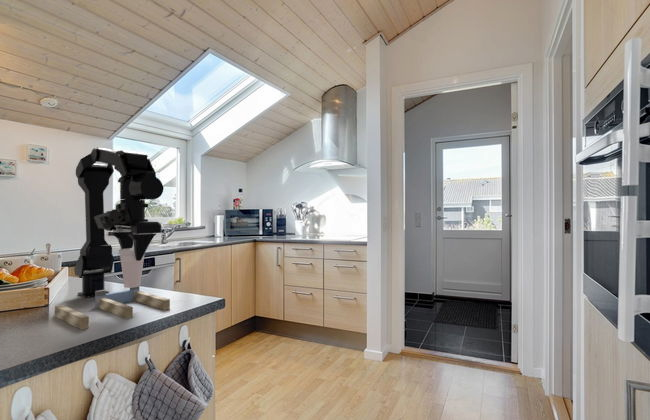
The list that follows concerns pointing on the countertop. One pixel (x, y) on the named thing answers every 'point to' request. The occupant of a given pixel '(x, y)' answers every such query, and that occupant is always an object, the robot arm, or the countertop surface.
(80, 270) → the robot arm
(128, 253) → the smoothie
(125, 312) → the divider rack
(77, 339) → the countertop surface
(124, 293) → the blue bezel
